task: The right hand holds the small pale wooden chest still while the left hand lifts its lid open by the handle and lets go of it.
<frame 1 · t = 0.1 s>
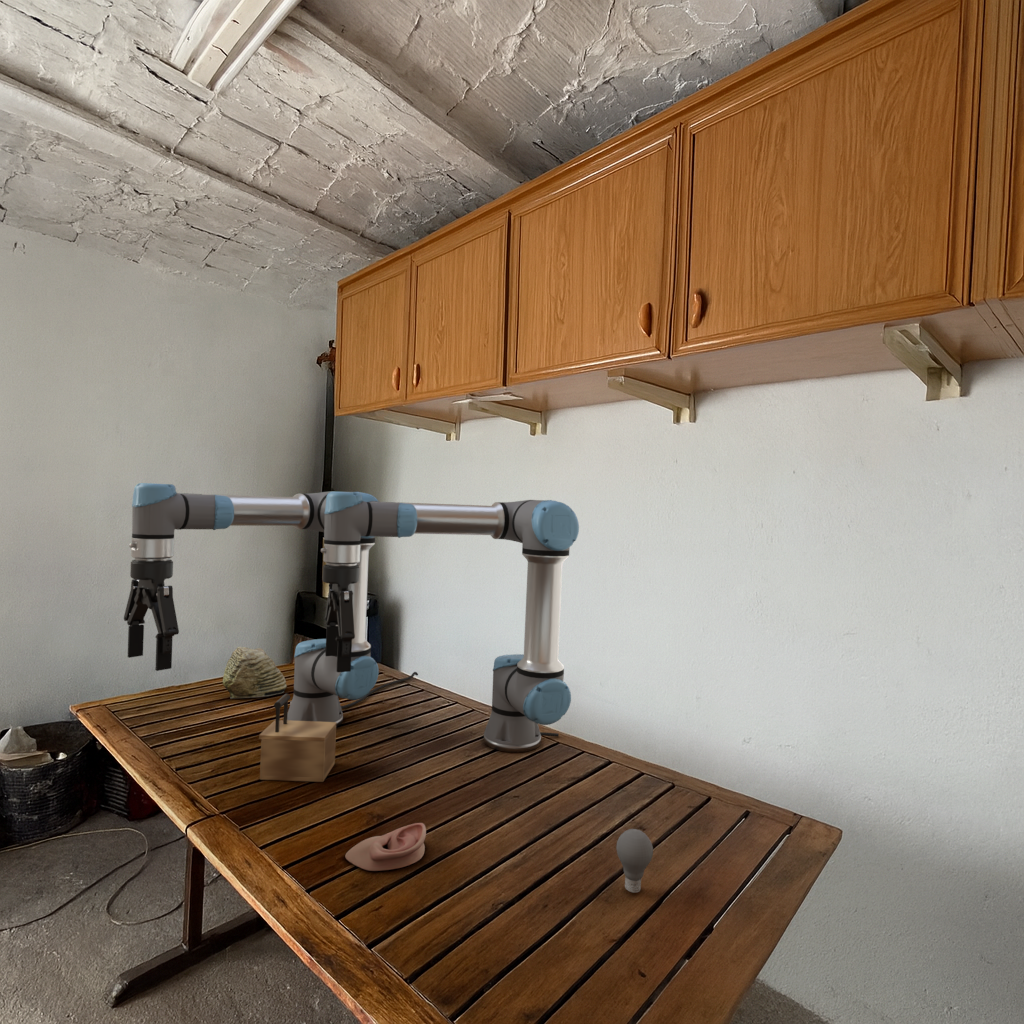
left hand: (148, 662, 129), 28 cm above the table, tool pointing down, fingers open, 13 cm apart
right hand: (337, 663, 135), 28 cm above the table, tool pointing down, fingers open, 13 cm apart
chest: (298, 771, 145), on the table
light bulb: (632, 891, 106), on the table
lid: (299, 715, 145), point 13 cm above the table, hinge at 0.0°
fossil: (254, 694, 198), on the table
anatomical model: (386, 854, 113), on the table
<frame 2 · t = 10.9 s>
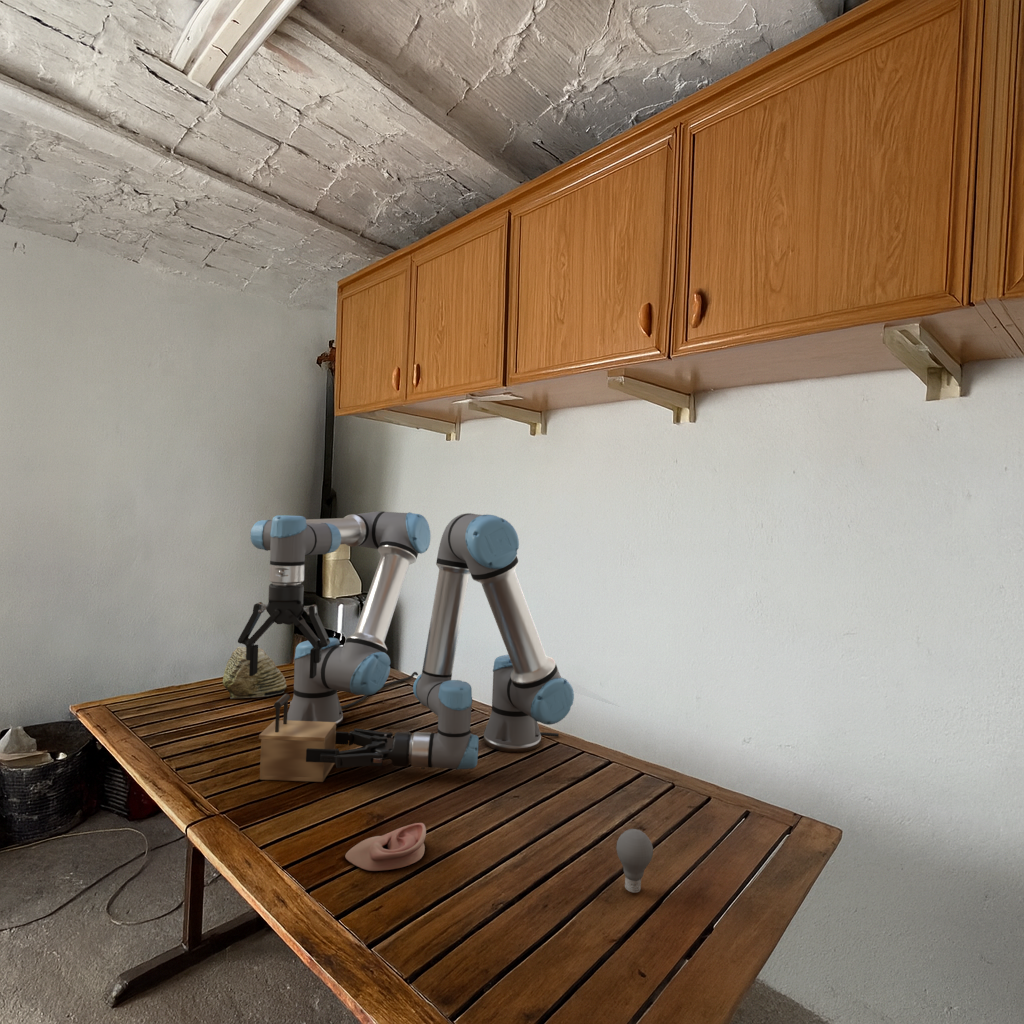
left hand: (283, 675, 145), 22 cm above the table, tool pointing down, fingers open, 13 cm apart
right hand: (313, 745, 145), 6 cm above the table, tool horizontal, fingers closed on chest, 10 cm apart
chest: (298, 771, 145), on the table, touching right hand
everything else where it was.
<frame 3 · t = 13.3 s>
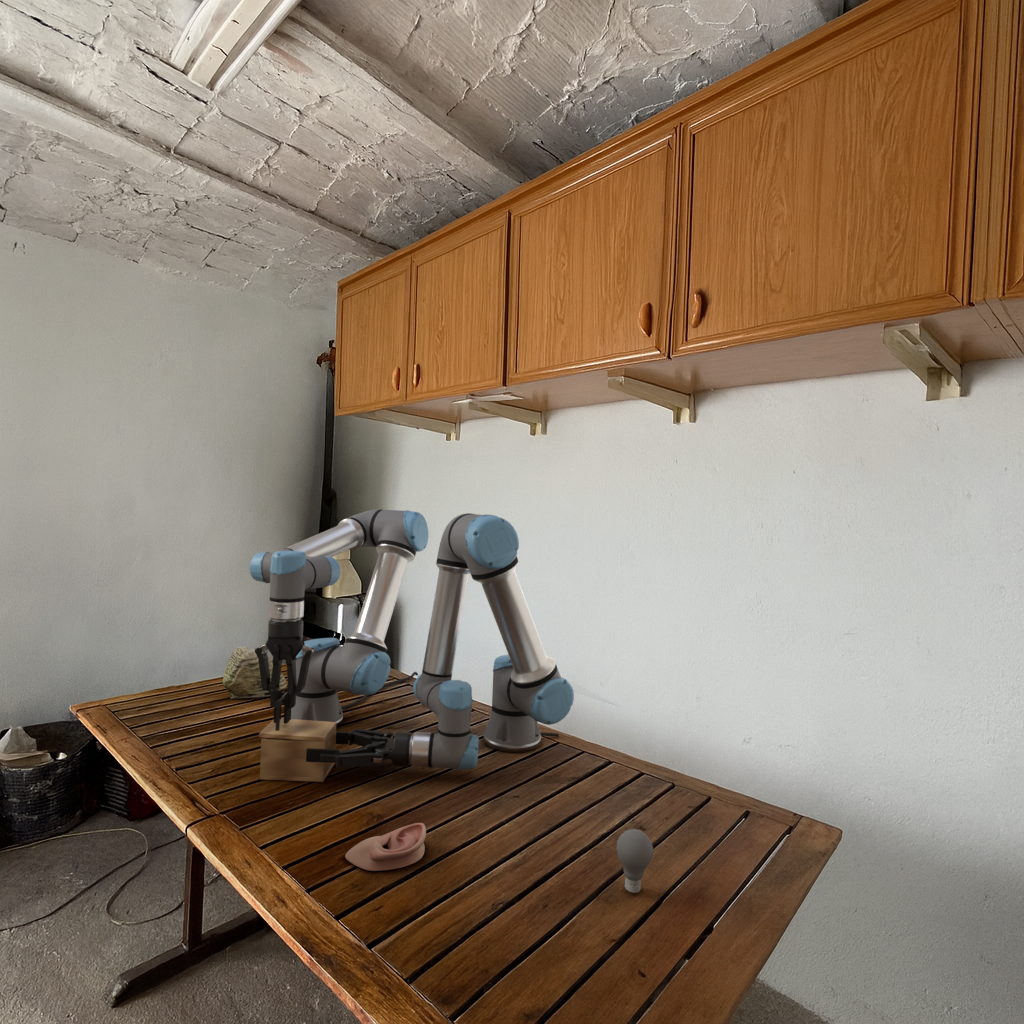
left hand: (282, 720, 145), 12 cm above the table, tool pointing down, fingers closed on lid, 2 cm apart
right hand: (314, 745, 145), 6 cm above the table, tool horizontal, fingers closed on chest, 10 cm apart
chest: (298, 771, 145), on the table, touching right hand
lid: (300, 714, 145), point 13 cm above the table, hinge at 1.7°, touching left hand
everything else where it was.
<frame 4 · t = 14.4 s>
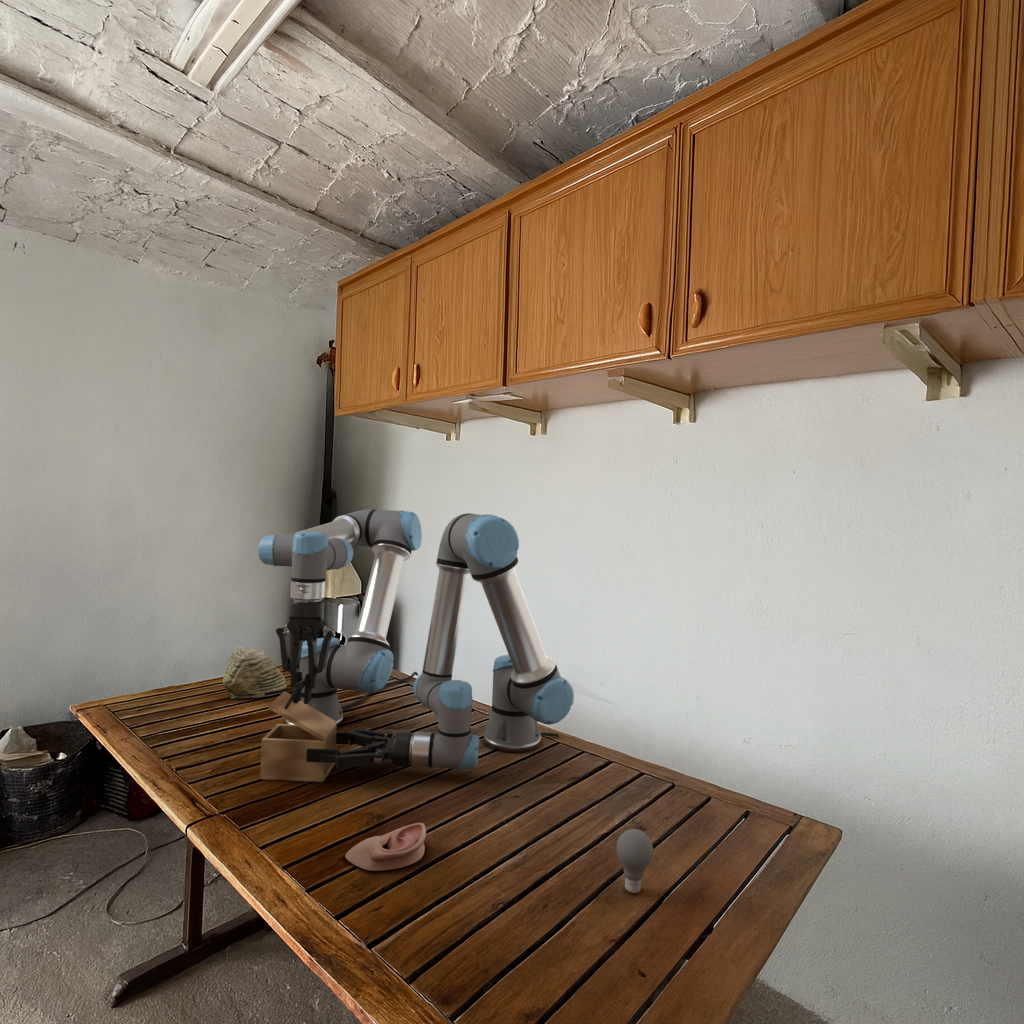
left hand: (302, 701, 145), 16 cm above the table, tool pointing down, fingers closed on lid, 2 cm apart
right hand: (314, 745, 145), 6 cm above the table, tool horizontal, fingers closed on chest, 10 cm apart
chest: (298, 771, 145), on the table, touching right hand
lid: (311, 702, 145), point 16 cm above the table, hinge at 28.6°, touching left hand
everything else where it was.
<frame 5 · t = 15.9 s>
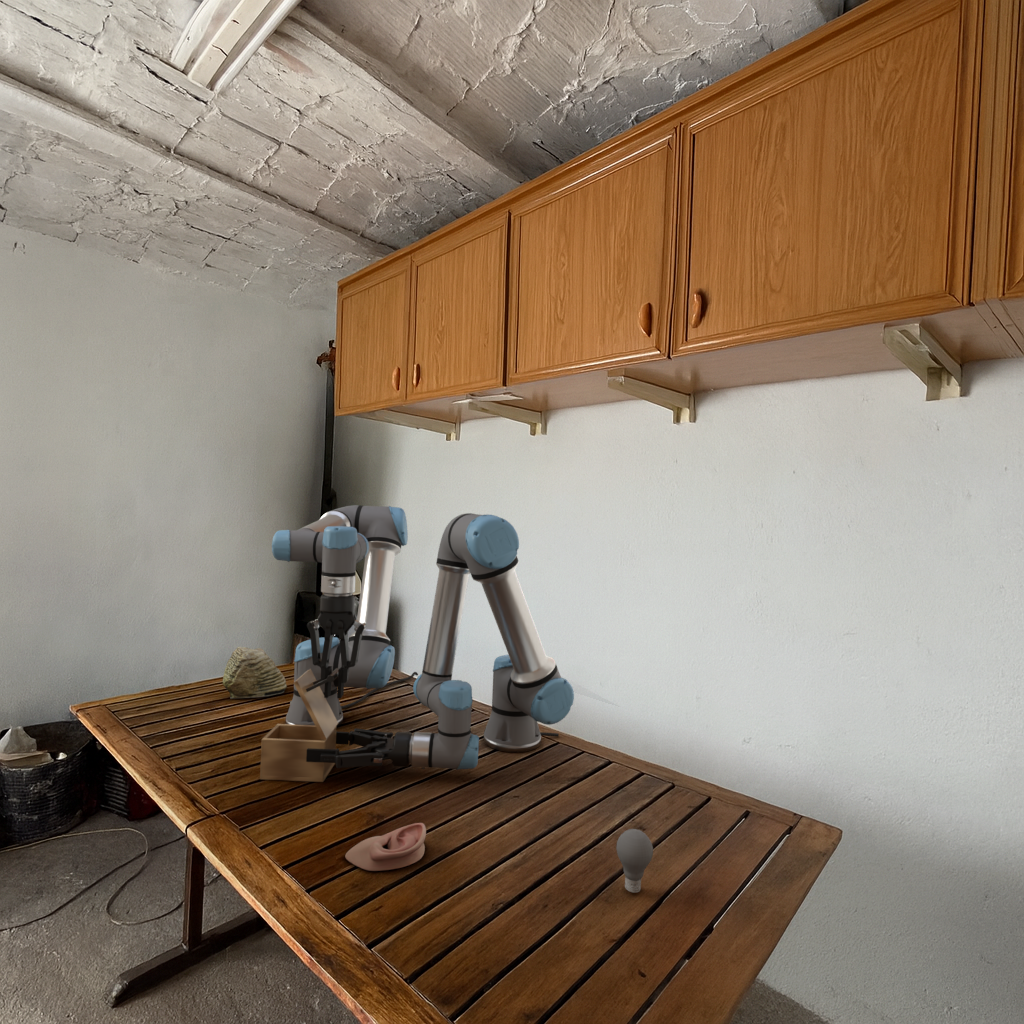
left hand: (334, 695, 145), 18 cm above the table, tool pointing down, fingers open, 2 cm apart
right hand: (314, 745, 145), 6 cm above the table, tool horizontal, fingers closed on chest, 10 cm apart
chest: (298, 771, 145), on the table, touching right hand
lid: (330, 696, 145), point 18 cm above the table, hinge at 60.9°
everything else where it was.
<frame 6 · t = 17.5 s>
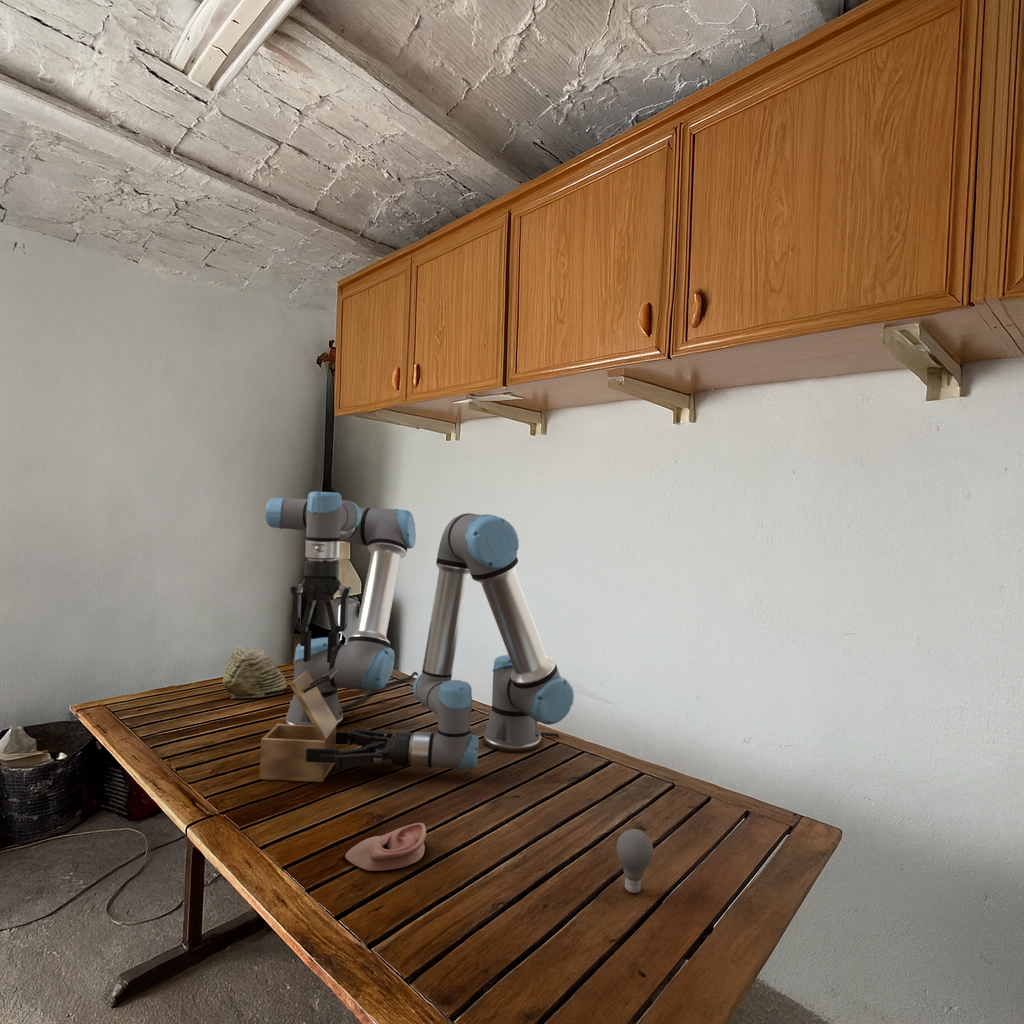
left hand: (318, 660, 145), 26 cm above the table, tool pointing down, fingers open, 5 cm apart
right hand: (313, 745, 145), 6 cm above the table, tool horizontal, fingers closed on chest, 10 cm apart
chest: (298, 771, 145), on the table, touching right hand
lid: (327, 696, 145), point 17 cm above the table, hinge at 57.5°
everything else where it was.
when the right hand's fingers open (6 cm above the table, at t = 19.9 s): chest stays where it is, on the table.
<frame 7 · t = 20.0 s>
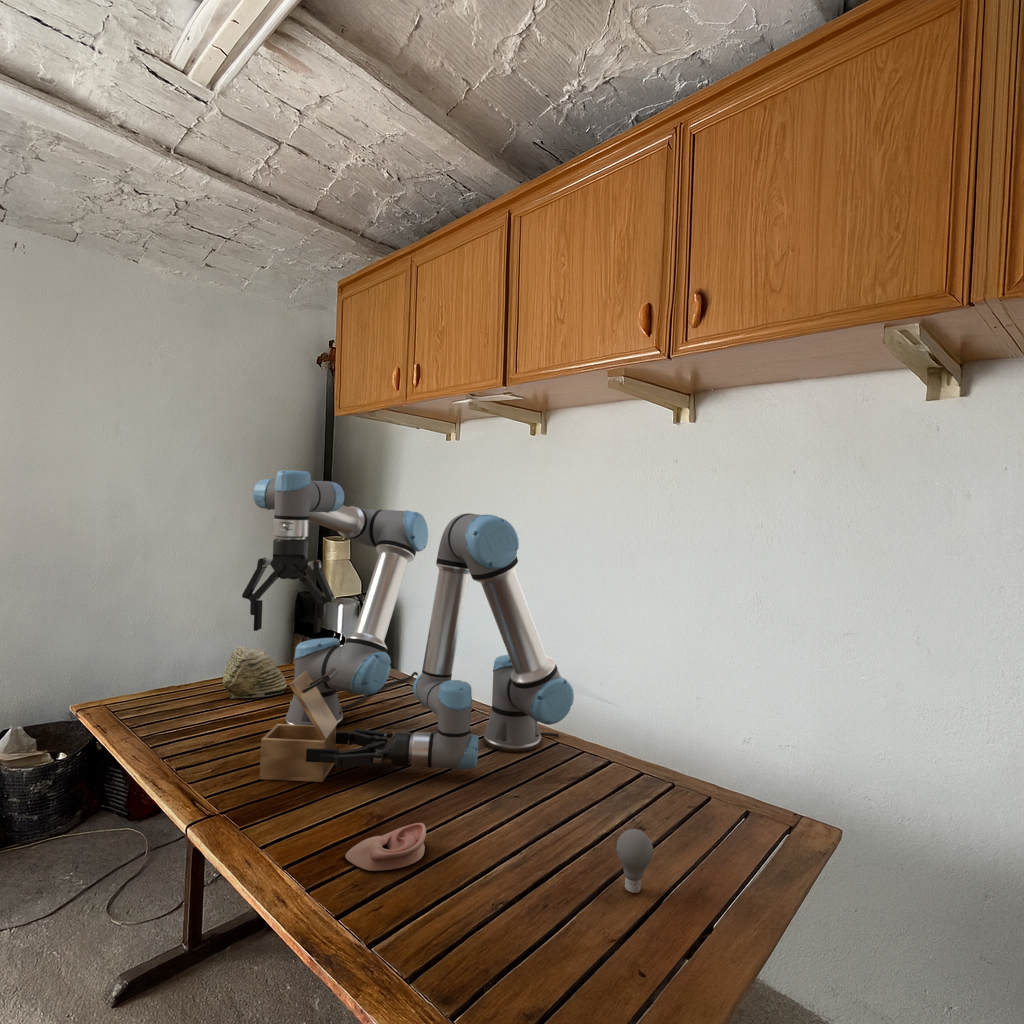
left hand: (287, 631, 145), 32 cm above the table, tool pointing down, fingers open, 13 cm apart
right hand: (313, 745, 145), 6 cm above the table, tool horizontal, fingers open, 10 cm apart
chest: (298, 771, 145), on the table
lid: (327, 696, 145), point 17 cm above the table, hinge at 57.1°
everything else where it was.
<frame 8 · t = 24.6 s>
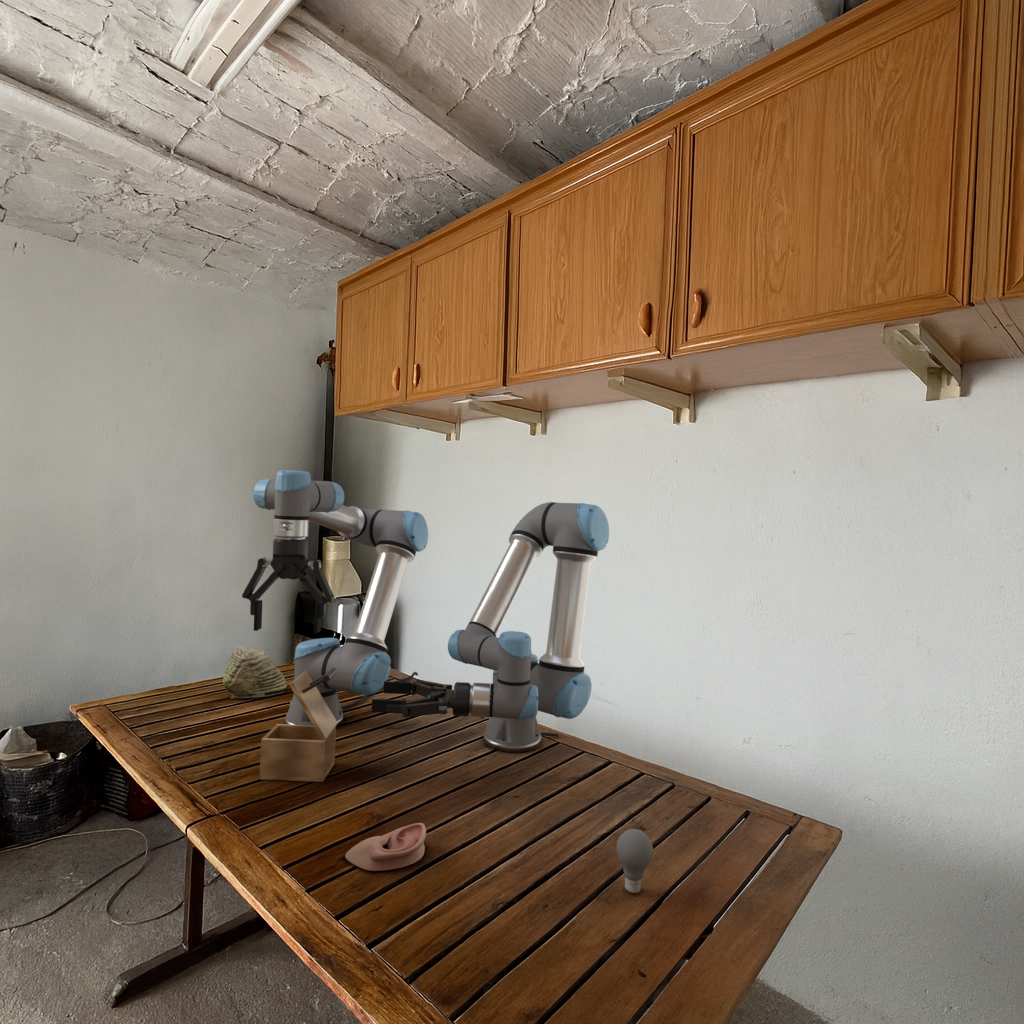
left hand: (287, 631, 145), 32 cm above the table, tool pointing down, fingers open, 13 cm apart
right hand: (378, 695, 145), 18 cm above the table, tool horizontal, fingers open, 13 cm apart
nothing on the table moved.
at the end: lid at +57° (first picture: +0°); the left hand is holding nothing; the right hand is holding nothing; chest tilted 0°; chest never tilted more than 1° during the clip; chest moved 0.1 cm from its start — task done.
